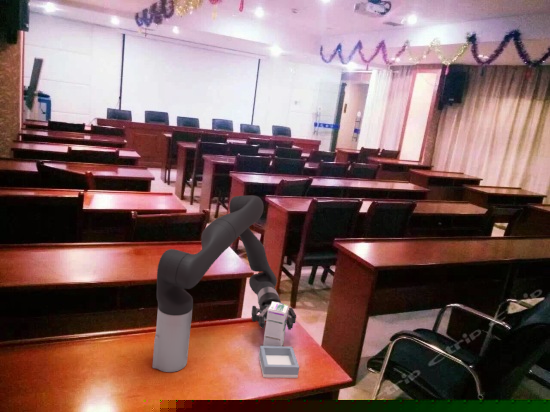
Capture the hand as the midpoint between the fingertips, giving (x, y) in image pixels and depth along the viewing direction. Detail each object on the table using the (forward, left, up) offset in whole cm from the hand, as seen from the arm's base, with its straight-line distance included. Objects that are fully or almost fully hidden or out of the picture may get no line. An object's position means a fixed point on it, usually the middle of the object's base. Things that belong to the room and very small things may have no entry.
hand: (277, 326), depth 124 cm
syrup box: (0, +2, -9) cm, 9 cm away
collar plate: (0, -8, -9) cm, 12 cm away
